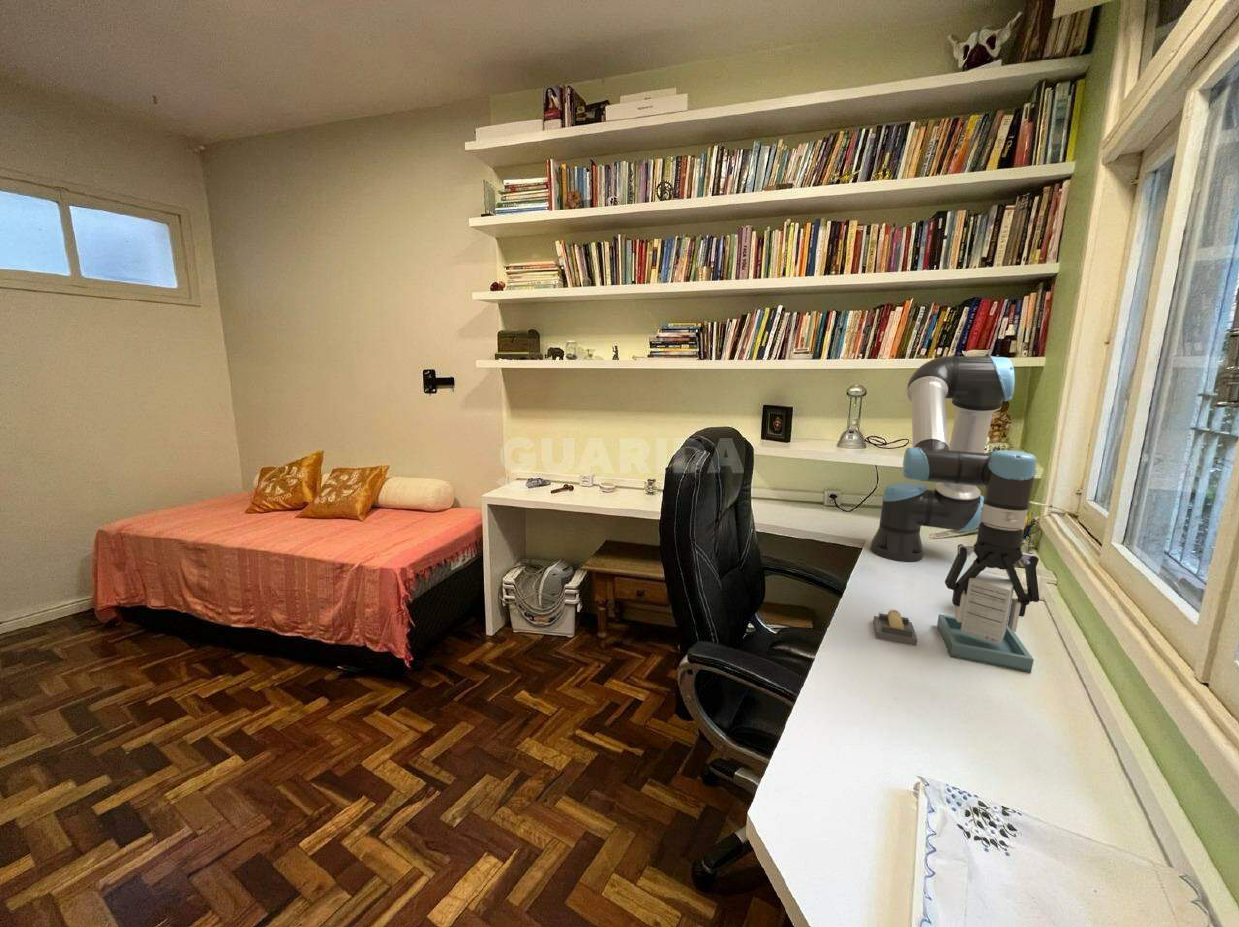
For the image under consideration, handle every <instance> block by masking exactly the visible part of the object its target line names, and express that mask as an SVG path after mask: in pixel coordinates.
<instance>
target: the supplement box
mask: <svg viewBox="0 0 1239 927" xmlns="http://www.w3.org/2000/svg"><path fill="white" fill-rule="evenodd" d="M984 571H985V570H983V571H981V572H980V573H979V574H978V575H977V576H976V578H970V579H969V583H968V589H967V594H966V600H965V606H964V612H963V618H962V624H961V632H962V633H965V634H968V635H971V636H974V637H977V638H980V639H983V640H986V641H989V642H992V643H996V644H999V645H1000V644H1001V642H1002V640H1003V638H1004V635H1005V633H1006V628H1007V624H1008V619H1009V613H1010V608H1011V603H1012V598H1013V595H1014V592H1015V590H1014V585H1013V583H1012V581H1011V580H1010V579H1009V576H1004V575H1002V576H1000V575H1001V574H999V575H996V574H997V573H996V574H992V573H988V572H984Z"/></svg>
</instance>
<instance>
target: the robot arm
mask: <svg viewBox="0 0 1239 927" xmlns="http://www.w3.org/2000/svg"><path fill="white" fill-rule="evenodd" d="M1015 380H1016V378H1015V368H1014V364H1013V362H1012V360H1011V359H1010V358H1008V357H1004V356H993V355H987V356H986V355H985V356H984V355H982V356H981V355H980V356H979V355H978V356H977V355H976V356H975V355H974V356H972V355H971V356H970V355H969V356H965V355H964V356H963V355H962V356H959V355H958V356H953V355H947V356H946V355H945V356H939V357H936V358H933V359H931V360H929V361H927V362H925V363H924V364H922V365H921V366H919V367H918V369H917V370H915V371H914V372H913V374H912V375H911V376H910V378H909V381H908V382H907V387H906V388H907V391H906V392H907V393H906V394H907V398H908V399H909V401H910V402H911V426H912V429H911V431H912V434H911V435H912V437H911V438H912V447H908V448H906V449H905V450H904V455H903V462H902V475H903V477H904V478H906V479H908V480H915V481H920V482H919V483H918V482H914V481H913V482H910V481H909V482H894V483H889V484H888V485H886V486H885V488H884V489H883V496H882V497H881V500H882V504H881V510H880V511H881V512H880V517H879V518H880V519H879V525H878V529H877V530H876V532H875V534H874V537H873V539H872V540H871V542H870V551H871V552H872V553H874V554H875V555H877V556H880V557H882V558H885V559H889V560H893V561H900V562H918V561H921V560H922V559H923V557H924V547H923V543H922V539H921V535H920V534H921V528H922V527H928V528H929V527H930V528H938V529H944V530H950V531H951V530H952V531H954V532H955V531H956V532H960V531H961V532H962V531H963V532H973V531H975V530H976V529H977V528H978V531H977V537H976V542H975V543H974V545H972V546H971V545H964V544H961V543H960V544H958V545H957V554H956V557H955V559H954V561H953V563H952V565H951V567H950V570H949V571H948V573H947V576H946V578H945V581H944V584H945V586H946V587H947V589H949V590H952V591H953V593H952V598H951V602H952V604H953V606H955V614H954V617H955V618H956V620H957V622H961V623H962V618H963V612H964V606H965V600H966V594H965V592H964V590H965V589H966V588H967V587H968V583H969V579H970V578H976V576H977V575H978V574H979V573H980V572H981V571H985V569H986V568H988V569H989V568H990V569H999V570H1003V571H1006V574H1007V577H1008V578H1009V579H1010V580H1011V581H1012V583H1013V585H1014V593H1015V595H1016V597H1012V601H1011V607H1010V612H1009V617H1008V623H1007V626H1008V627H1009V628H1010V630H1011V631H1013V632H1015V633H1016V632H1017V627H1018V622H1019V618H1020V617H1022V618H1023V617H1024V616H1025V615H1026V609H1027V606H1028V605H1029V604H1030V602H1031V603H1032V602H1033V603H1038V602H1040V595H1039V585H1038V584H1039V583H1038V573H1037V565H1038V563H1039V557H1038V556H1037V555H1035V554H1034V553H1033V552H1028V553H1027V552H1023V551H1022V546H1023V540H1024V534H1025V531H1024V530H1023V529H1024V528H1025V527H1026V523H1027V518H1028V517H1027V516H1028V510H1029V507H1030V500H1031V495H1032V491H1033V490H1032V489H1033V484H1034V481H1035V476H1036V475H1037V469H1036V468H1037V457H1036V455H1034V454H1033V453H1029V452H1025V451H1019V450H1003V449H1002V450H996V451H995V450H994V451H987V452H985V450H986V445H987V442H988V437H989V432H990V427H991V424H992V420H993V415H994V413H996V412H997V411H999V410H1001V408H1002V406H1003V401H1004V402H1008V401H1010V400H1012V399H1013V396H1014V392H1015ZM945 399H951V405H952V406H953V407H954V408H955V409H956V412H955V417H954V421H953V427H952V432H951V436H950V440H949V428H948V422H947V421H948V420H947V409H946V401H945ZM921 482H933V483H936V484H935V486H934V487H935V488H934V489H927V486H926V485H925V483H924V484H923V483H921ZM978 487H984V496H983V495H982V494H981V490H980V489H979V488H978ZM972 553H974V554H975V555H976V558H975V559H974V560H973V561H972V564H971V565H970V566H969V568H967V570H966V571H965V572H964V573H963V574H962V576H960V574H961V573H962V571H963V568H964V566H965V564H966V562H967V559H968V557H970V556H971V554H972ZM1020 560H1022V563H1024V572H1025V578H1026V580H1025V581H1026V589H1027V593H1026V591H1025V590H1024V588H1023V586H1022V583H1021V579H1020V578H1019V576H1018V574H1017V570H1016V568H1015V566H1014V565H1015V564H1016V563H1017V562H1018V561H1020ZM959 576H960V578H959Z"/></svg>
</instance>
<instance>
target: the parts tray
mask: <svg viewBox="0 0 1239 927" xmlns="http://www.w3.org/2000/svg"><path fill="white" fill-rule="evenodd" d="M936 622H937V624H936V627H937V629H938V632H939V634H940V636H941V638H942V641H943V643H944V646H945V649H946V650H947V653H948V655H949V657H950V658H954V659H958V660H964V661H969V662H974V663H978V664H984V665H988V666H995V667H999V668H1002V669H1009V670H1014V671H1018V672H1019V671H1020V672H1025V673H1029V674H1031V673H1032V670H1033V664H1034V660H1035V659H1034V658H1033V656H1032V655H1031V654H1030V652H1029V651H1028V649H1027V648H1026V647H1025V645H1024V644H1023V642H1022V641H1021V639H1020V638H1019V637H1018V635H1017V633H1016V632H1013V631H1011V630H1010V628H1009V627H1008V626H1007V628H1006V633H1005V635H1004V638H1003V640H1002V642H1001V644H1000V645H999V644H996V643H992V642H989V641H986V640H983V639H980V638H977V637H974V636H971V635H968V634H965V633H962V632H961V624H962V623H961V622H957V620H956V618H955V616H951V615H947V614H946V615H945V614H940V613H939V614H938V618H937V621H936Z"/></svg>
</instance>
